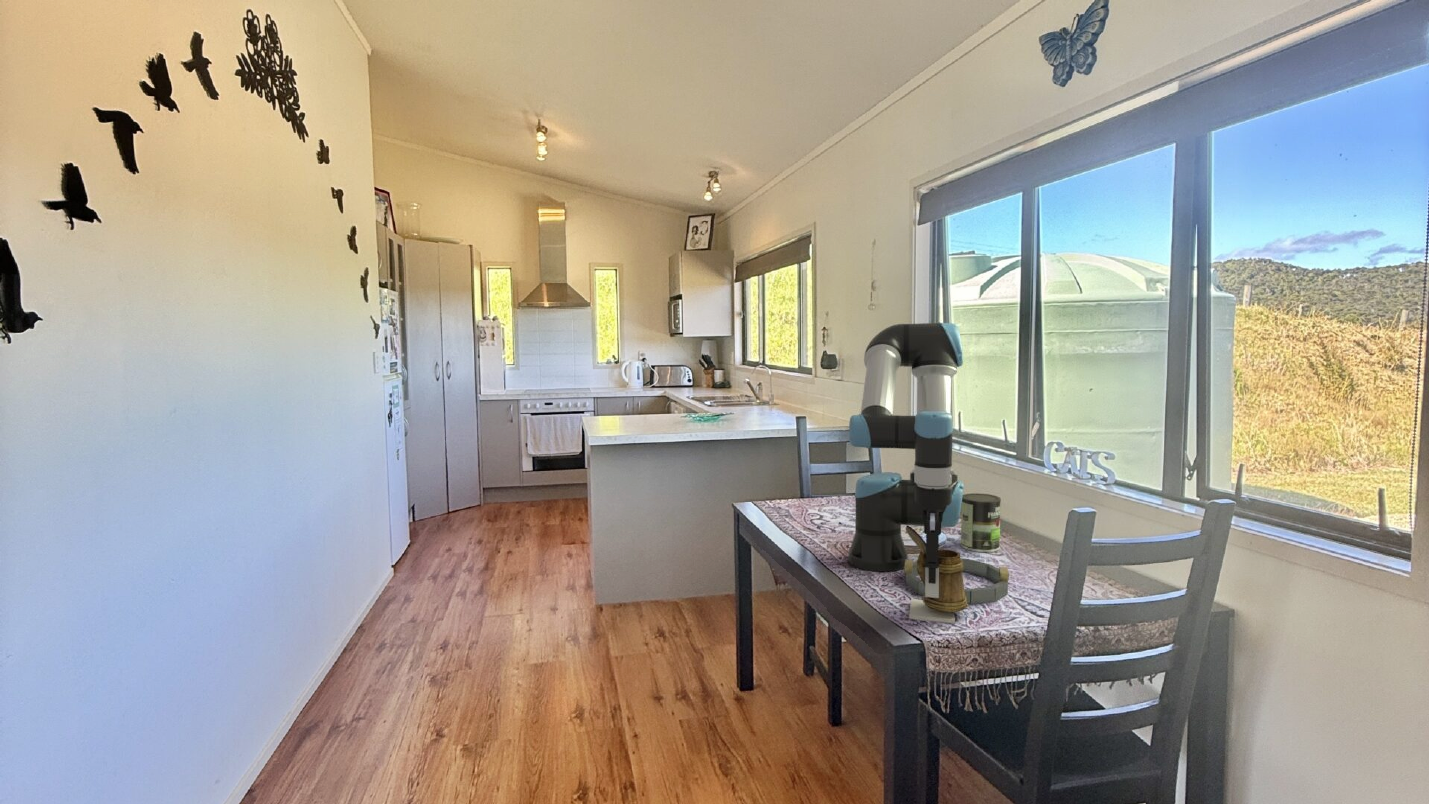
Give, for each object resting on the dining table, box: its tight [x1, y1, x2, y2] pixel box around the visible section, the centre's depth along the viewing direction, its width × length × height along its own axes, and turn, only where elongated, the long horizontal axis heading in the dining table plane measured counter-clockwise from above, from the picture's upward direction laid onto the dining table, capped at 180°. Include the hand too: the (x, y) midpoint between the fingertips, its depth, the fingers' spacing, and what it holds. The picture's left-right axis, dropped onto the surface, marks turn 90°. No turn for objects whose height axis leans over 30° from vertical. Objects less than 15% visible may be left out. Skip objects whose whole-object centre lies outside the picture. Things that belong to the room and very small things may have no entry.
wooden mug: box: [905, 525, 969, 613], centre depth 143 cm, size 9×14×18 cm, turn 101°
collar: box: [904, 557, 1010, 605], centre depth 160 cm, size 23×22×5 cm
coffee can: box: [960, 492, 1002, 553], centre depth 188 cm, size 10×10×14 cm
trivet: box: [908, 598, 956, 624], centre depth 145 cm, size 9×9×1 cm
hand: (932, 590), depth 145 cm, fingers closed on wooden mug, 7 cm apart
